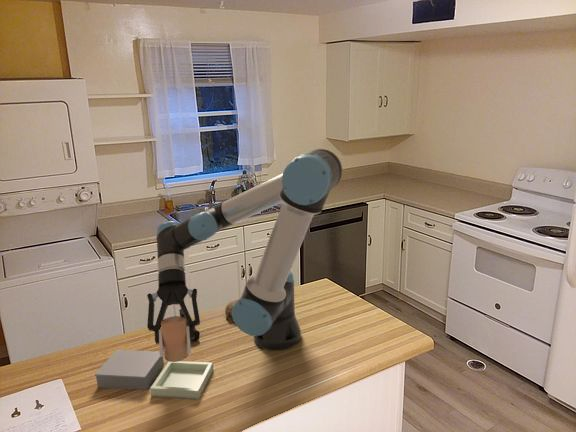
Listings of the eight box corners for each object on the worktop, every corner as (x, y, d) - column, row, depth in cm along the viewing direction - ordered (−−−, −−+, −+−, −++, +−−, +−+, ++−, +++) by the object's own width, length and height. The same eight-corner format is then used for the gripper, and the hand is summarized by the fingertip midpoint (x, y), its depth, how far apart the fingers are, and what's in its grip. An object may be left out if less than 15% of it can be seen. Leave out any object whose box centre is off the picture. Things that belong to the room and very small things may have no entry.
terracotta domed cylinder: (191, 349, 127) (189, 316, 125) (183, 362, 121) (180, 328, 118) (169, 348, 128) (166, 315, 125) (160, 361, 122) (157, 327, 119)
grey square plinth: (164, 364, 135) (163, 351, 134) (146, 390, 123) (144, 376, 122) (118, 362, 137) (117, 349, 136) (96, 387, 125) (94, 374, 124)
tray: (213, 370, 131) (212, 362, 131) (198, 399, 119) (198, 390, 118) (170, 368, 133) (169, 360, 133) (151, 396, 121) (150, 388, 120)
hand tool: (200, 341, 148) (199, 328, 147) (188, 344, 147) (186, 330, 145) (190, 316, 165) (188, 304, 164) (178, 319, 164) (177, 307, 162)
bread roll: (223, 326, 164) (217, 312, 159) (235, 304, 171) (229, 290, 166) (248, 331, 160) (242, 316, 156) (259, 308, 168) (254, 293, 163)
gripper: (206, 274, 137) (212, 352, 126) (138, 281, 133) (139, 362, 122) (205, 264, 130) (212, 344, 119) (134, 271, 127) (134, 355, 115)
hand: (175, 353), depth 120 cm, fingers closed on terracotta domed cylinder, 6 cm apart
